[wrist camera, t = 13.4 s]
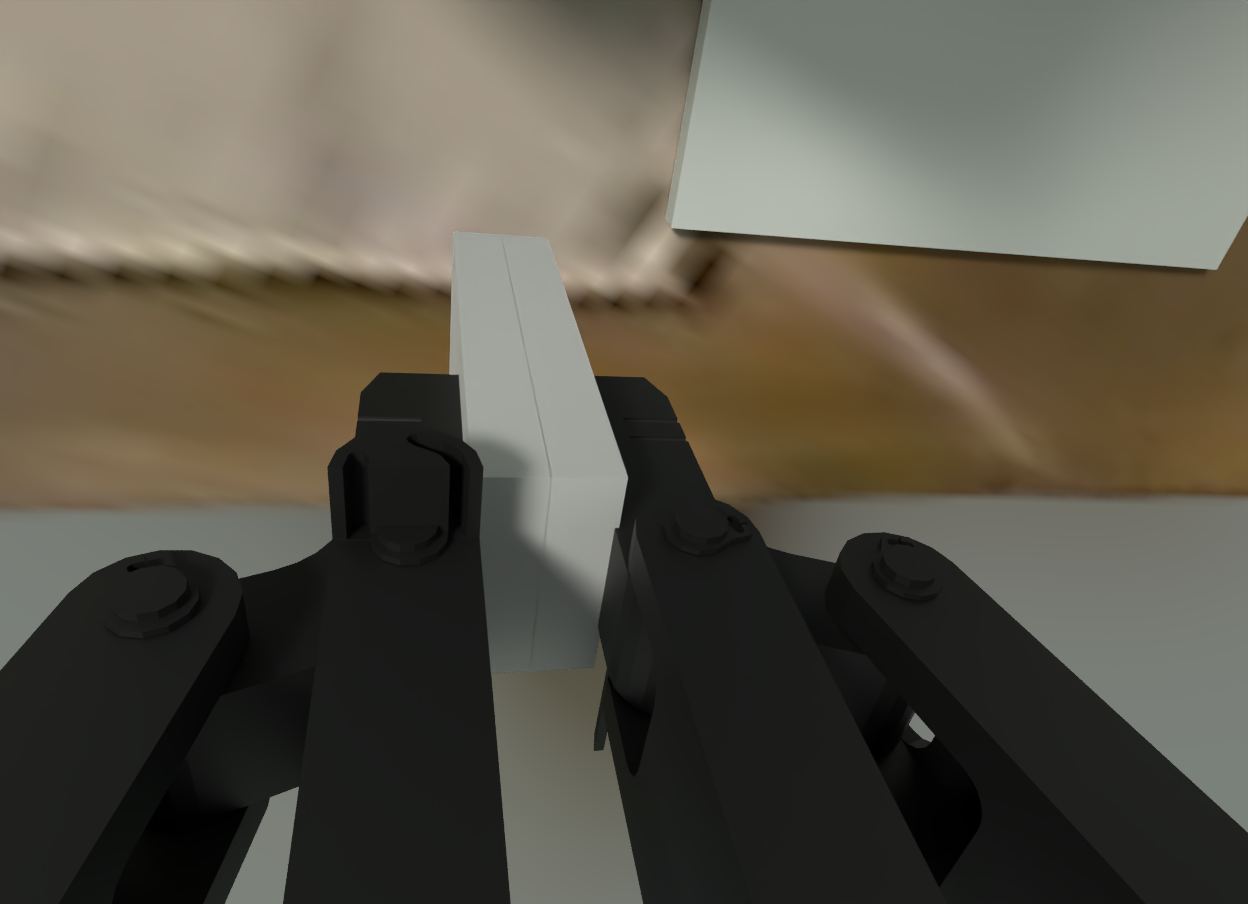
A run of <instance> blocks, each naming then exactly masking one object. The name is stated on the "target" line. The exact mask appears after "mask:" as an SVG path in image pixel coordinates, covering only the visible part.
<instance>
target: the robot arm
mask: <svg viewBox="0 0 1248 904" xmlns="http://www.w3.org/2000/svg"><path fill="white" fill-rule="evenodd" d="M685 438H686V436H685V434H684V432H683V430H682V428H681V425H680V423H677V417H676V415H675V413H674V410H673V408H672V406H671V404H670V402H669V400H668V397H667V396H666V395H664V394H663V393H662V392H661V391H660V390H658V389H657V388H656V387H655V386H654V385H652V384H651V383H650V382H649V381H648V380H647V379H645V378H644V377H611V376H594V375H593V372H592V369H591V366H590V363H589V360H588V357H587V354H586V351H585V348H584V345H583V342H582V339H581V336H580V333H579V330H578V327H577V324H576V321H575V318H574V315H573V312H572V309H571V306H570V303H569V300H568V297H567V294H566V291H565V288H564V285H563V282H562V279H561V276H560V273H559V270H558V268H557V265H556V262H555V259H554V256H553V253H552V250H551V247H550V244H549V241H548V238H542V237H528V236H514V235H500V234H486V233H471V232H457V231H453V256H452V293H451V331H450V368H449V374H415V373H381V372H380V373H379V374H378V375H377V376H376V377H375V378H374V380H373V381H372V382H371V383H370V384H369V385H368V386H367V387H366V388H365V389H364V390H363V391H362V392H361V395H360V403H359V411H358V421H357V427H356V435H355V438H353V439H352V440H350V441H349V442H348V443H346V444H345V445H343V446H342V447H341V448H339V449H338V450H336V452H335V454H334V456H333V458H332V460H331V461H330V463H329V465H328V481H329V495H330V509H331V523H332V537H333V539H332V541H330V542H329V543H328V544H327V545H325V546H324V547H323V548H322V549H320V550H319V551H318V552H317V553H315V554H313V555H311V556H309V557H307V558H305V559H303V560H301V561H300V562H297V563H295V564H292V565H289V566H285V567H282V568H279V569H276V570H273V571H269V572H265V573H261V574H256V575H252V576H249V577H245V578H240V579H238V576H237V573H236V572H235V571H234V570H233V569H232V568H230V567H229V566H228V565H227V564H225V563H224V562H223V561H222V560H220V559H219V558H216V557H213V556H210V555H206V554H202V553H199V552H196V551H192V550H185V551H183V550H176V551H175V550H159V551H155V552H150V553H145V554H141V555H137V556H132V557H128V558H124V559H122V560H120V561H118V562H116V563H113V564H111V565H109V566H107V567H105V568H102V569H100V570H98V571H96V572H94V573H92V574H91V575H90V576H89V577H88V578H86V579H85V580H84V581H83V582H81V583H80V584H79V585H78V586H77V587H75V588H74V589H73V590H72V591H70V592H69V593H68V594H67V596H66V597H65V598H64V599H63V600H62V601H61V602H60V603H59V605H58V606H57V607H56V608H55V609H54V610H53V611H52V612H51V614H50V615H49V616H48V617H47V618H46V619H45V620H44V622H43V623H42V624H41V625H40V626H39V627H38V628H37V630H36V631H35V632H34V633H33V634H32V635H31V637H30V638H29V639H28V640H27V641H26V642H25V643H24V644H23V646H22V647H21V648H20V649H19V650H18V651H17V652H16V653H15V655H14V656H13V657H12V658H11V659H10V660H9V661H8V663H7V664H6V665H5V666H4V667H3V668H2V669H1V670H0V904H225V902H226V899H227V897H228V895H229V893H230V890H231V888H232V886H233V883H234V881H235V879H236V877H237V875H238V872H239V870H240V868H241V865H242V863H243V861H244V859H245V857H246V854H247V852H248V850H249V847H250V845H251V843H252V841H253V838H254V836H255V834H256V832H257V829H258V827H259V825H260V823H261V820H262V818H263V816H264V814H265V811H266V809H267V807H268V803H269V799H270V797H272V796H275V795H277V794H280V793H282V792H285V791H288V790H290V789H293V788H296V787H299V791H298V799H297V807H296V813H295V820H294V828H293V835H292V842H291V850H290V857H289V864H288V872H287V879H286V886H285V893H284V901H283V904H510V891H509V880H508V868H507V856H506V844H505V833H504V821H503V809H502V797H501V785H500V773H499V762H498V750H497V738H496V726H495V714H494V703H493V691H492V679H491V674H494V673H509V672H528V671H543V670H544V671H545V670H561V669H578V668H594V665H595V659H596V654H597V648H598V643H599V637H600V639H601V643H602V648H603V652H604V656H605V661H606V665H607V671H606V676H605V681H604V686H603V691H602V697H601V702H600V707H599V712H598V717H597V722H596V728H595V733H594V751H598V750H603V749H604V744H605V740H606V735H607V732H608V737H609V741H610V746H611V751H612V756H613V760H614V766H615V770H616V775H617V780H618V784H619V790H620V794H621V799H622V804H623V809H624V813H625V818H626V823H627V828H628V832H629V837H630V842H631V847H632V852H633V857H634V861H635V866H636V871H637V876H638V881H639V885H640V890H641V895H642V900H643V904H1248V833H1247V832H1246V831H1245V830H1244V829H1243V828H1242V827H1241V826H1240V825H1239V824H1238V823H1237V822H1236V821H1234V820H1233V819H1232V818H1231V817H1230V816H1229V815H1228V814H1227V813H1226V812H1224V811H1223V810H1222V809H1221V808H1220V807H1219V806H1218V805H1217V804H1216V803H1215V802H1213V800H1211V799H1210V798H1209V797H1208V796H1207V795H1206V794H1205V793H1204V792H1203V791H1202V790H1200V789H1199V788H1198V787H1197V786H1196V785H1195V784H1194V783H1193V782H1192V781H1191V780H1190V779H1188V778H1187V777H1186V776H1185V775H1184V774H1183V773H1182V772H1181V771H1180V770H1179V769H1178V768H1176V767H1175V766H1174V765H1173V764H1172V763H1171V762H1170V761H1169V760H1168V759H1167V758H1166V757H1164V756H1163V755H1162V754H1161V753H1160V752H1159V751H1158V750H1157V749H1156V748H1155V747H1154V746H1152V745H1151V744H1150V743H1149V742H1148V741H1147V740H1146V739H1145V738H1144V737H1143V736H1142V735H1141V734H1139V733H1138V732H1137V731H1136V730H1135V729H1134V728H1133V727H1132V726H1131V725H1129V723H1127V722H1126V721H1125V720H1124V719H1123V718H1122V717H1121V716H1120V715H1118V713H1116V712H1115V711H1114V710H1113V709H1112V708H1111V707H1110V706H1109V705H1108V704H1107V703H1106V702H1104V701H1103V700H1102V699H1101V698H1100V697H1099V696H1098V695H1097V694H1096V693H1095V692H1094V691H1092V690H1091V689H1090V688H1089V687H1088V686H1087V685H1086V684H1085V683H1084V682H1083V681H1082V680H1080V679H1079V678H1078V677H1077V676H1076V675H1075V674H1074V673H1073V672H1072V671H1070V669H1068V668H1067V667H1066V666H1065V665H1064V664H1063V663H1062V662H1061V661H1060V660H1059V659H1058V658H1056V657H1055V656H1054V655H1053V654H1052V653H1051V652H1050V651H1049V650H1048V649H1046V648H1045V647H1044V646H1043V645H1042V644H1041V643H1040V642H1039V641H1038V640H1037V639H1036V638H1035V637H1034V636H1032V635H1031V634H1030V633H1029V632H1028V631H1027V630H1026V629H1025V628H1024V627H1022V625H1020V624H1019V623H1018V622H1017V621H1016V620H1015V619H1014V618H1013V617H1012V616H1011V615H1009V614H1008V613H1007V612H1006V611H1005V610H1004V609H1003V608H1002V607H1001V606H999V605H998V604H997V603H996V602H995V601H994V600H993V599H992V598H991V597H990V596H989V595H988V594H987V593H985V592H984V591H983V590H982V589H981V588H980V587H979V586H978V585H977V584H976V583H974V582H973V581H972V580H971V579H970V578H969V577H968V576H967V575H966V574H965V573H964V572H962V571H961V570H960V569H959V568H958V567H957V566H956V565H955V564H954V563H953V562H951V561H950V560H948V559H947V558H946V557H944V556H943V555H942V554H940V553H939V552H937V551H936V550H935V549H933V548H931V547H929V546H927V545H925V544H922V543H920V542H918V541H916V540H913V539H911V538H909V537H904V536H899V535H894V534H889V533H885V532H883V533H864V534H861V535H859V536H857V537H855V538H852V539H850V540H848V541H847V542H846V544H845V546H844V547H843V549H842V550H841V552H840V554H839V557H838V559H837V562H836V563H833V562H828V561H823V560H818V559H813V558H809V557H804V556H798V555H794V554H789V553H786V552H782V551H779V550H775V549H772V548H769V547H767V546H766V544H765V542H764V540H763V538H762V536H761V535H760V532H759V531H758V530H757V528H756V527H755V526H754V525H753V523H752V522H751V521H750V520H749V518H748V517H747V516H745V515H744V514H742V513H741V512H739V511H738V510H736V509H735V508H733V507H732V506H730V505H729V504H726V503H723V502H720V501H718V500H715V499H714V497H713V494H712V492H711V490H710V488H709V486H708V484H707V482H706V479H705V477H704V475H703V473H702V471H701V469H700V466H699V464H698V462H697V460H696V458H695V456H694V454H693V451H692V449H691V447H690V445H689V443H688V441H686V439H685ZM914 713H916V714H917V715H918V716H919V717H920V718H921V720H922V721H923V722H924V723H925V724H926V725H927V726H928V728H929V729H930V730H931V731H932V732H933V733H934V735H935V737H934V738H933V740H932V742H929V741H927V740H924V739H922V738H921V737H920V736H919V735H918V734H917V733H916V732H915V731H914V730H913V729H912V728H911V727H910V726H909V723H910V721H911V719H912V717H913V715H914Z"/></svg>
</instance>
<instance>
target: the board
mask: <svg viewBox="0 0 1248 904" xmlns="http://www.w3.org/2000/svg"><path fill="white" fill-rule="evenodd" d="M1247 216H1248V0H703V3H702V9H701V14H700V20H699V26H698V32H697V38H696V43H695V49H694V55H693V61H692V67H691V72H690V78H689V84H688V90H687V96H686V101H685V107H684V113H683V119H682V125H681V130H680V136H679V142H678V148H677V154H676V159H675V165H674V171H673V177H672V182H671V188H670V194H669V200H668V206H667V211H666V217H665V220H666V221H667V223H668V224H669V226H670V227H671V228H676V229H689V230H702V231H715V232H728V233H741V234H755V235H768V236H781V237H794V238H807V239H820V240H833V241H846V242H859V243H872V244H886V245H899V246H912V247H925V248H938V249H951V250H964V251H977V252H990V253H1003V254H1017V255H1030V256H1043V257H1056V258H1069V259H1082V260H1095V261H1108V262H1121V263H1134V264H1148V265H1161V266H1174V267H1187V268H1200V269H1213V270H1217V268H1218V267H1219V265H1220V263H1221V261H1222V260H1223V258H1224V256H1225V254H1226V253H1227V251H1228V249H1229V247H1230V246H1231V244H1232V242H1233V240H1234V239H1235V237H1236V235H1237V233H1238V232H1239V230H1240V228H1241V226H1242V225H1243V223H1244V221H1245V219H1246V218H1247Z"/></svg>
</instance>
